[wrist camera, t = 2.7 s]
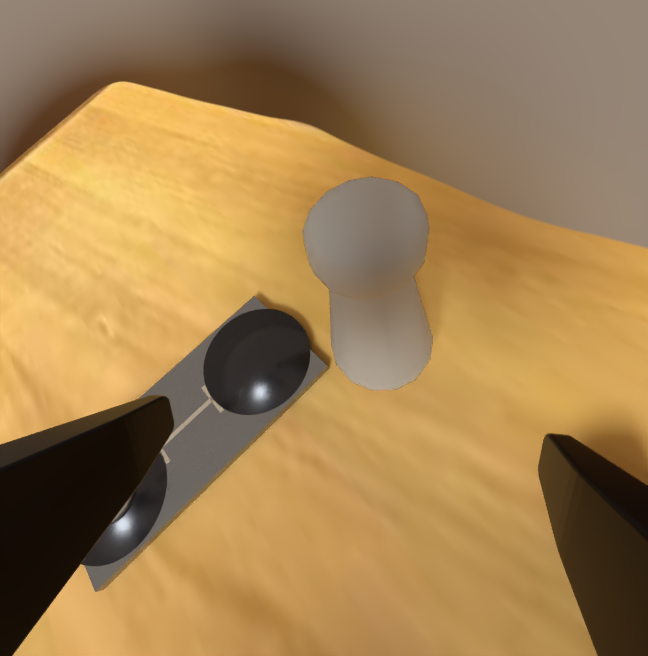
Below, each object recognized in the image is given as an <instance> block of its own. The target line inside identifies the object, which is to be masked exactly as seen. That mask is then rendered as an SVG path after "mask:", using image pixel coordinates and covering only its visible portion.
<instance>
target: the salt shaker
mask: <svg viewBox="0 0 648 656" xmlns="http://www.w3.org/2000/svg"><path fill="white" fill-rule="evenodd" d="M428 234H429V224H428V218H427V214H426V212H425V209H424V207H423V205H422V203H421V201H420V199H419V196H418V195H417V194H416V193H414V192H413V191H411V190H410V189H408V188H407V187H405V186H403V185H402V184H400V183H399V182H396V181H391V180H386V179H381V178H376V177H367V178H360V179H354V180H349V181H347V182H345V183H343V184H341V185H339V186H337V187H335V188H333V189H331V190H329V191H328V192H326V193H325V194H324V195H323V196H322V197H321V198H320V200H319V201H318V202H317V203H316V204H315V205H314V206H313V207H312V208H311V209H310V211H309V214H308V217H307V220H306V223H305V225H304V228H303V237H304V244H305V248H306V252H307V256H308V260H309V264H310V266H311V268H312V270H313V272H314V274H315V275H316V276H317V277H318V278H319V279H320V280H321V281H322V282H323V283H324V284H325V285H326V286H327V287H328V289H329V294H330V323H331V345H332V349H333V353H334V357H335V361H336V364H337V366H338V367H339V368H340V369H341V370H342V371H343V372H344V374H345V375H346V376H347V377H348V378H349V379H350V381H352V382H353V383H355V384H358V385H360V386H363V387H365V388H368V389H370V390H372V391H379V390H396V389H398V388H400V387H402V386H404V385H406V384H408V383H410V382H412V381H414V380H416V378H417V377H418V376H419V374H420V373H421V372H422V370H423V369H424V367H425V366H426V365H427V363H428V362H429V360H430V359H431V351H432V342H433V336H432V333H431V330H430V327H429V324H428V320H427V317H426V314H425V311H424V308H423V305H422V302H421V299H420V296H419V292H418V288H417V285H416V281H415V277H414V275H415V274H416V273H417V272H418V270H419V269H420V268H421V267H422V265H423V264H424V261H425V255H426V248H427V241H428Z"/></svg>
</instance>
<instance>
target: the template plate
mask: <svg viewBox="0 0 648 656" xmlns="http://www.w3.org/2000/svg"><path fill="white" fill-rule="evenodd" d="M328 369H329V368H328V366H327V365H326V364H325V363H324V362H323V361H322V360H321V359H320V358H319V357H318V356H317V355H316V354H315V353H314V352H313V351H312V348H311V343H310V340H309V338H308V336H307V334H306V332H305V330H304V329H303V327H302V326H301V325H300V324H299V322H298V321H297V320H295V319H294V318H293V317H292V316H290V315H288V314H286V313H284V312H282V311H278V310H274V309H267V308H266V307H265V306H264V305H263V304H262V303H261V302H260V301H259V300H258V299H257V298H256V297H255V296H254V297H253V298H252V299H250V300H249V301H248V302H247V303H246V304H245V305H244V306H243V307H241V308H240V309H239V310H238V311H237V312H236V313H235V314H234V315H232V316H231V317H230V318H229V319H228V320H227V321H226V322H225V323H223V324H222V325H221V326H220V327H219V328H218V329H217V330H216V331H214V332H213V333H212V334H211V335H210V336H209V337H208V338H207V339H205V340H204V341H203V342H202V343H201V344H200V345H199V346H198V347H196V348H195V349H194V350H193V351H192V352H191V353H190V354H189V355H187V356H186V357H185V358H184V359H183V360H182V361H181V362H180V363H178V364H177V365H176V366H175V367H174V368H173V369H172V370H171V371H169V372H168V373H167V374H166V375H165V376H164V377H163V378H162V379H160V380H159V381H158V382H157V383H156V384H155V385H154V386H153V387H151V388H150V389H149V390H148V391H147V392H146V393H145V394H144V395H142V396H141V397H140V398H143V397H146V396H149V395H162V396H166V397H167V398H168V399H169V401H170V405H171V409H172V414H173V418H174V429H173V432H172V433H171V435H170V437H169V438H168V440H167V442H166V443H165V445H164V446H163V448H162V450H161V451H160V453H159V455H158V456H157V458H156V459H155V461H154V463H153V464H152V466H151V468H150V469H149V471H148V472H147V474H146V476H145V477H144V479H143V480H142V482H141V483H140V485H139V486H138V487H137V491H136V496H135V499H134V501H133V504H132V506H131V507H130V509H129V510H128V512H127V513H126V514H125V515H124V516H123V517H122V518H121V519H120V520H119V521H117V522H116V523H114V524H112V525H109V526H108V528H107V529H106V531H105V532H104V533H103V535H102V536H101V537H100V539H99V540H98V541H97V543H96V544H95V545H94V547H93V548H92V549H91V551H90V552H89V553H88V555H87V556H86V557H85V559H84V560H83V561H82V563H81V564H82V565H85V568H86V570H87V573H88V575H89V578H90V580H91V583H92V585H93V587H94V590H95V592H97V591H101V590H104V589H105V588H106V587H107V586H108V585H109V584H110V583H111V582H112V581H113V580H114V579H115V578H116V577H117V576H118V575H119V574H120V573H121V572H122V571H123V570H124V569H125V568H126V567H127V566H128V565H129V564H130V563H131V562H132V561H133V560H134V559H135V558H136V557H137V556H138V555H139V554H140V553H141V552H142V551H143V550H144V549H146V548H147V547H148V546H149V545H150V544H151V543H152V542H153V541H154V540H155V539H156V538H157V537H158V536H159V535H160V534H161V533H162V532H163V531H164V530H165V529H166V528H167V527H168V526H169V525H170V524H171V523H172V522H173V521H174V520H175V519H176V518H177V517H178V516H179V515H180V514H181V513H182V512H183V511H184V510H185V509H186V508H187V507H188V506H189V505H190V504H191V503H192V502H193V501H194V500H195V499H197V498H198V497H199V496H200V495H201V494H202V493H203V492H204V491H205V490H206V489H207V488H208V487H209V486H210V485H211V484H212V483H213V482H214V481H215V480H216V479H217V478H218V477H219V476H220V475H221V474H222V473H223V472H224V471H225V470H226V469H227V468H228V467H229V466H230V465H231V464H232V463H233V462H234V461H235V460H236V459H237V458H238V457H239V456H240V455H241V454H242V453H243V452H244V451H245V450H246V449H248V448H249V447H250V446H251V445H252V444H253V443H254V442H255V441H256V440H257V439H258V438H259V437H260V436H261V435H262V434H263V433H264V432H265V431H266V430H267V429H268V428H269V427H270V426H271V425H272V424H273V423H274V422H275V421H276V420H277V419H278V418H279V417H280V416H281V415H282V414H283V413H284V412H285V411H286V410H287V409H288V408H289V407H290V406H291V405H292V404H293V403H294V402H295V401H296V400H297V399H299V398H300V397H301V396H302V395H303V394H304V393H305V392H306V391H307V390H308V389H309V388H310V387H311V386H312V385H313V384H314V383H315V382H316V381H317V380H318V379H319V378H320V377H321V376H322V375H323V374H324V373H325V372H326V371H327V370H328ZM140 398H139V399H140Z"/></svg>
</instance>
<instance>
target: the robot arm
mask: <svg viewBox="0 0 648 656" xmlns="http://www.w3.org/2000/svg"><path fill="white" fill-rule="evenodd" d="M173 429H174V418H173V414H172V409H171V405H170V401H169V399H168V398H167V397H166V396H162V395H149V396H146V397H143V398H140V399H137V400H134V401H131V402H128V403H125V404H122V405H119V406H116V407H113V408H110V409H107V410H104V411H101V412H98V413H95V414H92V415H89V416H86V417H83V418H80V419H77V420H74V421H71V422H68V423H65V424H62V425H59V426H55V427H52V428H49V429H46V430H43V431H40V432H37V433H34V434H31V435H28V436H25V437H22V438H19V439H16V440H13V441H10V442H7V443H4V444H1V445H0V656H13V654H14V653H15V652H16V650H17V649H18V648H19V646H20V645H21V643H22V642H23V641H24V639H25V638H26V637H27V635H28V634H29V633H30V631H31V630H32V629H33V627H34V626H35V625H36V623H37V622H38V621H39V619H40V618H41V617H42V615H43V614H44V613H45V611H46V610H47V609H48V607H49V606H50V604H51V603H52V602H53V600H54V599H55V598H56V596H57V595H58V594H59V592H60V591H61V590H62V588H63V587H64V586H65V584H66V583H67V582H68V580H69V579H70V578H71V576H72V575H73V574H74V572H75V571H76V570H77V568H78V567H79V565H80V564H81V563H82V561H83V560H84V559H85V557H86V556H87V555H88V553H89V552H90V551H91V549H92V548H93V547H94V545H95V544H96V543H97V541H98V540H99V539H100V537H101V536H102V535H103V533H104V532H105V531H106V529H107V528H108V526H109V525H110V524H111V522H112V521H113V520H114V518H115V517H116V516H117V514H118V513H119V512H120V510H121V509H122V508H123V506H124V505H125V504H126V502H127V501H128V500H129V498H130V497H131V496H132V494H133V493H134V491H135V490H136V489H137V487H138V486H139V485H140V483H141V482H142V480H143V479H144V477H145V476H146V474H147V472H148V471H149V469H150V468H151V466H152V464H153V463H154V461H155V459H156V458H157V456H158V455H159V453H160V451H161V450H162V448H163V446H164V445H165V443H166V442H167V440H168V438H169V437H170V435H171V433H172V432H173ZM538 473H539V479H540V483H541V487H542V491H543V495H544V499H545V502H546V506H547V510H548V514H549V518H550V522H551V526H552V530H553V534H554V537H555V541H556V545H557V548H558V552H559V554H560V557H561V560H562V563H563V566H564V568H565V571H566V574H567V576H568V579H569V582H570V584H571V587H572V589H573V592H574V595H575V597H576V600H577V603H578V605H579V608H580V611H581V613H582V616H583V618H584V621H585V624H586V626H587V629H588V632H589V634H590V637H591V640H592V642H593V645H594V647H595V650H596V653H597V655H598V656H648V485H646V484H645V483H643V482H642V481H640V480H639V479H637V478H635V477H634V476H632V475H631V474H629V473H628V472H626V471H624V470H623V469H621V468H620V467H618V466H617V465H615V464H614V463H612V462H610V461H609V460H607V459H606V458H604V457H603V456H601V455H599V454H598V453H596V452H595V451H593V450H592V449H590V448H589V447H587V446H585V445H584V444H582V443H581V442H579V441H578V440H576V439H574V438H573V437H571V436H569V435H563V434H552V433H548V434H547V435H545V437H544V440H543V444H542V450H541V455H540V460H539V465H538Z"/></svg>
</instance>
